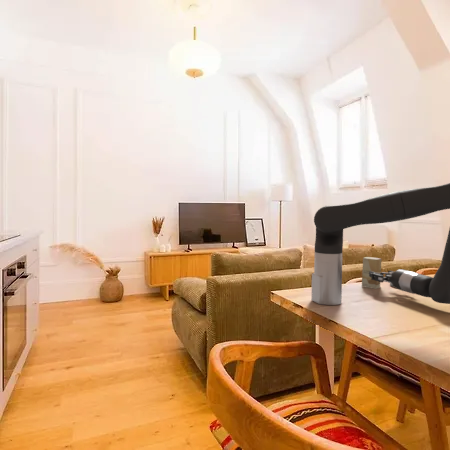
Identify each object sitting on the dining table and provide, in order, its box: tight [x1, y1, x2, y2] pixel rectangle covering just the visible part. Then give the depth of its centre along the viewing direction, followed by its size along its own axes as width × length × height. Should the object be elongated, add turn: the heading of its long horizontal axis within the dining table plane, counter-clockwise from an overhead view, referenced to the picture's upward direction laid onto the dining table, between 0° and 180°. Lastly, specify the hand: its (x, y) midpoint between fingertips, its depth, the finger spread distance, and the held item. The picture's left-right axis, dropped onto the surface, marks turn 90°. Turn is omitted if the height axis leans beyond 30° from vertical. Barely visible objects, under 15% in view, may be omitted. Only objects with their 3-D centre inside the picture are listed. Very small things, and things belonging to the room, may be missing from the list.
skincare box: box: [361, 256, 382, 290], centre depth 142 cm, size 6×4×12 cm
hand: (379, 273), depth 137 cm, fingers open, 8 cm apart
